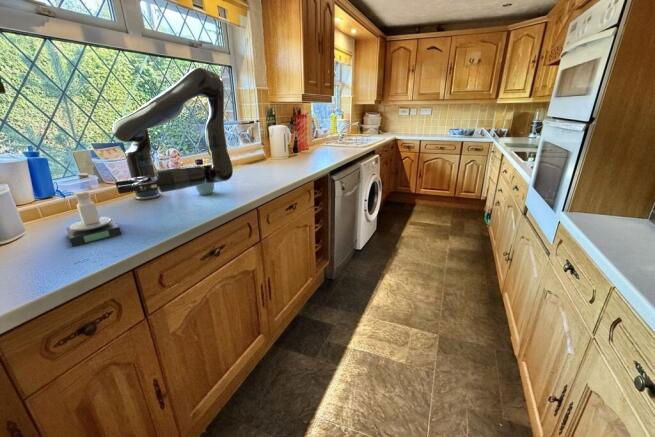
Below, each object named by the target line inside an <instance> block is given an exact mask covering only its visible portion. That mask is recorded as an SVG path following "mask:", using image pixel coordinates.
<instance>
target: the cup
mask: <svg viewBox="0 0 655 437" xmlns="http://www.w3.org/2000/svg"><path fill="white" fill-rule="evenodd" d="M195 188H196V191H197V193H198V194H199V195H203V196H204V195H205V196H206V195H210V194H212V193H214V191H215V183H208V184H202V185H198V186H195Z"/></svg>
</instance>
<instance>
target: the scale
mask: <svg viewBox="0 0 655 437" xmlns="http://www.w3.org/2000/svg"><path fill="white" fill-rule="evenodd" d="M99 218H100V222H98V223H94V224H90V225H85V224H84V223H83V222H82V220H80V221H77V222H74V223H73V224H71V225H69V227H68V226H67V227H66V229H65V230H66V232H67V236H68V238H69V241H70V243H71V246H72V247H77V246H81V245H84V244H89V243H93V242H97V241H101V240H104V239H108V238H112V237H117V236H119V235H122V232H121V228H120V226H119V225H118V224H117V222H116V220H114V219H113V217H108V216H99Z"/></svg>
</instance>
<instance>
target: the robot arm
mask: <svg viewBox="0 0 655 437" xmlns="http://www.w3.org/2000/svg"><path fill="white" fill-rule="evenodd" d="M221 77H222V76H220V75H219V74H218V73H217V72H213V71H211V70H208V69H207V68H204V67H195V68H193V69H191V70H190V71H189V72H187V73H186V74H185V75H184V76H183V77H182V78H181V79H180V80H178V81H177V82H176V83H175V84H173V85H172V86H170V87H168V88H167V89H166V90H164V91H163V92H161V93H159V94H157V95H156V96H155V97H154V98H152V99H150V100H149V101H148V102H145V104H143V105H142V106H140V107H139V108H138V109H136V110H135V111H133V112H131V113H128V114H127V115H125V116H123V117H120V118H118V119H117V120H115V121H114V123H113V125H112V133H113V136H114V137H115V139H117V140H118V141H120V142H123V143H131V146H130V148H129V149H127V150H126V151H125V152H124V156H125V160H126V164H127V168H128V172H129V175H130V178H128V179H124V180H117V181H115V187H116V189H117V193H118V194H121V195H122V194H127V193H134V195H135V199H136V200H139V201H141V200H143V201H144V200H151V199H155V198H158V197H160V196H161V193H167V192H172V191H173V192H174V191H178V190H183V189H187V188H192V187H196V186H198V185H202V184H208V183H214V184H215V183H223V182H227V181H229V180H231V178H232V177H233V174H234V169H233V168H234V167H233V163H232V161H231V156H230V154H229V151H228V145H227V144H228V143H227V138H226V130H225V86H224V81H223V79H222V78H221ZM196 97H202V98H205V99H206V101H207V104H208V116H207V121H206V124H205V127H204V139H205V144H206V145H205V146H206V150H207V154H208V155H209V156H210V160H211V163H212V164H207V165H206V164H205V165H190V166H182V167H181V166H179V167H169V168H168V167H167V168H162V169H156V170H155V167H154V163H153V159H152V145H151V139H150V134H149V129H152V128H155V127H159V126H161V125H165V124H167V123H169V122H171V121H173V120H174V119H176V118H178V117H179V116H180V115H181V114H182V112H183V110H184V107H185V104H186V103H188V101H190V100H193V99H194V98H196Z"/></svg>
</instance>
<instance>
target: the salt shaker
mask: <svg viewBox="0 0 655 437" xmlns="http://www.w3.org/2000/svg"><path fill="white" fill-rule="evenodd" d="M74 196H75V197H76V200H77V204H76V208H77V211H78V214H79V217H80V221H82V222H83V223H84V224H85V225H90V224H94V223H98V222H100V218H99V217H100V215H99V212H98V209H97V206H96V203H95V202H94V201H93V200H91V195H90V192H89V191H87V190H86V191H78V192H75V194H74Z"/></svg>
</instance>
